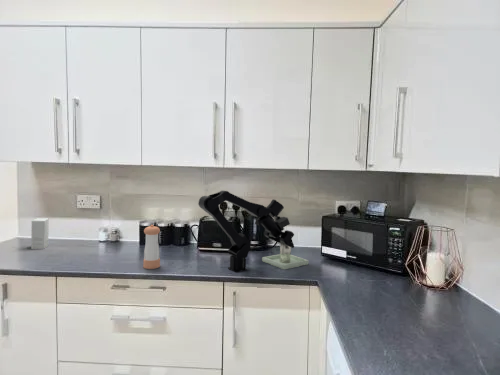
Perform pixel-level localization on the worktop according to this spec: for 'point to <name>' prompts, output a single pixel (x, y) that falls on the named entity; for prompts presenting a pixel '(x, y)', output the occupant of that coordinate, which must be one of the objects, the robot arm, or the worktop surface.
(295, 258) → the tray
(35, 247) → the skincare box
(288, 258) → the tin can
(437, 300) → the worktop surface
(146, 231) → the pepper shaker
